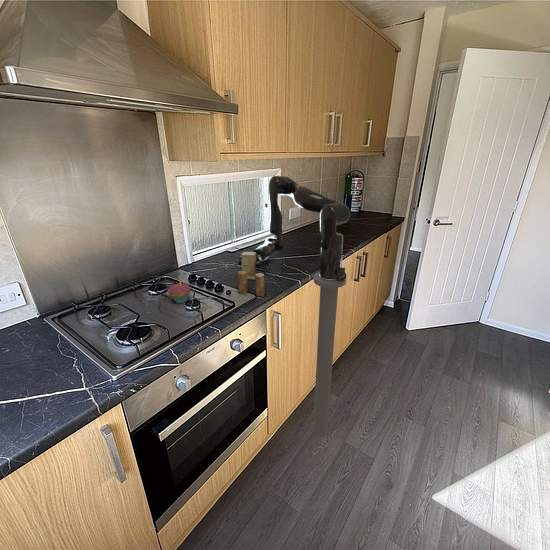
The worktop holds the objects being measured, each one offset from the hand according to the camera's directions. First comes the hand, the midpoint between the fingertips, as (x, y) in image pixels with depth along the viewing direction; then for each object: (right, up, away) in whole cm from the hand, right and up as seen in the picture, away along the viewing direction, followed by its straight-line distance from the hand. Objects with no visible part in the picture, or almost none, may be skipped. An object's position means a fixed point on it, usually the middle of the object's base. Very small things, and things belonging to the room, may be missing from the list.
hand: (247, 264), depth 135 cm
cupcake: (-25, -15, -16) cm, 34 cm away
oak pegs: (+3, -12, -11) cm, 17 cm away
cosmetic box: (+1, -6, +4) cm, 7 cm away
